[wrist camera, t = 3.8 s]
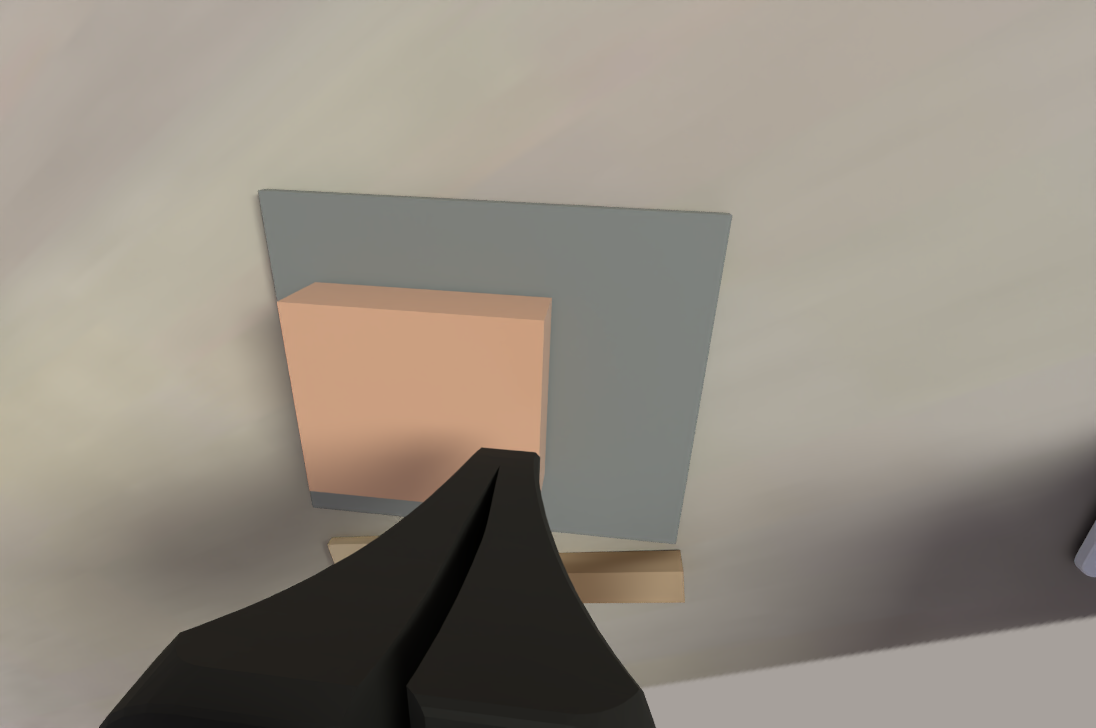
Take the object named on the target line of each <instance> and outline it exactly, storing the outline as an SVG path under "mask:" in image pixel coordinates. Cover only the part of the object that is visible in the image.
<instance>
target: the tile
mask: <svg viewBox="0 0 1096 728" xmlns="http://www.w3.org/2000/svg"><path fill="white" fill-rule="evenodd" d="M277 306H278V312H279V318H280V323H281V329H282V335H283V341H284V346H285V352H286V358H287V364H288V369H289V375H290V381H291V387H292V392H293V398H294V404H295V410H296V416H297V421H298V427H299V433H300V439H301V444H302V450H303V456H304V462H305V467H306V473H307V479H308V485H309V490H310V491H316V492H326V493H336V494H346V495H356V496H366V497H376V498H386V499H396V500H407V501H417V502H424V501H425V500H426V499H427V498H429V497H430V496H431V495H432V494H433V493H434V492H435V491H436V490H437V489H438V488H439V487H441V486H442V485H443V484H444V483H445V482H446V481H447V480H448V479H449V478H450V477H451V476H452V475H453V474H454V473H455V472H456V471H457V470H458V469H459V468H460V467H461V466H462V465H463V464H464V463H465V462H466V461H467V460H468V459H469V458H470V457H471V456H472V455H473V454H474V453H475V452H476V451H478V450H479V449H480V448H481V447H483V448H494V449H505V450H516V451H528V452H536V453H537V454H538V455H539V456H540V480H539V483H540V490H542V485H543V480H544V474H545V452H546V428H547V405H548V381H549V357H550V333H551V309H552V298H547V297H532V296H517V295H502V294H487V293H472V292H457V291H442V290H427V289H412V288H397V287H382V286H367V285H351V284H336V283H321V282H315V283H313V284H311V285H309V286H307V287H305V288H303V289H301V290H299V291H297V292H295V293H293V294H291V295H289V296H287V297H285V298H283V299H281V300H279V301H278V302H277Z"/></svg>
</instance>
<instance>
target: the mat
mask: <svg viewBox="0 0 1096 728" xmlns="http://www.w3.org/2000/svg"><path fill="white" fill-rule="evenodd" d="M258 194H259V199H260V205H261V211H262V217H263V222H264V228H265V234H266V240H267V246H268V251H269V257H270V263H271V269H272V274H273V280H274V286H275V292H276V298H277V302H278V301H279V300H281V299H283V298H285V297H287V296H289V295H291V294H293V293H295V292H297V291H299V290H301V289H303V288H305V287H307V286H309V285H311V284H313V283H315V282H321V283H336V284H351V285H367V286H382V287H397V288H412V289H427V290H442V291H457V292H472V293H487V294H502V295H517V296H532V297H547V298H552V309H551V333H550V357H549V381H548V405H547V428H546V452H545V474H544V480H543V485H542V490H541V496H542V500H543V504H544V508H545V513H546V517H547V520H548V523H549V527H550V530H551V532H561V533H571V534H581V535H590V536H600V537H610V538H620V539H630V540H640V541H650V542H659V543H669V544H676V540H677V534H678V528H679V522H680V517H681V511H682V505H683V499H684V493H685V487H686V482H687V476H688V470H689V464H690V458H691V453H692V447H693V441H694V435H695V429H696V423H697V418H698V412H699V406H700V400H701V394H702V388H703V383H704V377H705V371H706V365H707V359H708V354H709V348H710V342H711V336H712V330H713V324H714V319H715V313H716V307H717V301H718V295H719V290H720V284H721V278H722V272H723V266H724V260H725V255H726V249H727V243H728V237H729V231H730V225H731V220H732V215H731V214H730V213H717V212H698V211H679V210H660V209H640V208H621V207H602V206H583V205H564V204H545V203H525V202H506V201H487V200H468V199H449V198H430V197H411V196H391V195H372V194H353V193H334V192H315V191H296V190H277V189H263V190H258ZM310 494H311V500H312V505H313V507H314V508H324V509H334V510H344V511H354V512H364V513H373V514H383V515H393V516H403V517H406V516H407V515H408V514H409V513H410V512H412V511H413V510H414V509H415V508H417V507H418V506H419V505H420V504H422V503H423V502H417V501H407V500H396V499H386V498H376V497H366V496H356V495H346V494H336V493H326V492H316V491H310Z"/></svg>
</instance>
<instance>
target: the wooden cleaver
mask: <svg viewBox="0 0 1096 728" xmlns="http://www.w3.org/2000/svg"><path fill="white" fill-rule="evenodd" d="M378 537H379V536H364V537H339V538H332V539H331V540H330V542H329V543H328V544H327V545H328V548H329V551H330V553H331V556H332V559H333V561H334V564H335V563H337V562H339V561H341V560H342V559H344V558H346V557H348V556H349V555H351V554H353V553H355V552H356V551H358V550H359V549H361V548H363V547H364V546H366V545H367V544H369V543H370V542H372V541H373V540H375V539H376V538H378ZM559 555H560V557H561V560H562V562H563V564H564V567H565V569H566V571H567V573H568V576H569V578H570V580H571V582H572V584H573V586H574V588H575V590H576V592H577V594H578V596H579V597H580V599H581V601H582V603H674V602H685V597H684V577H683V567H682V560H681V553H680V550H673V551H627V552H580V553H559Z"/></svg>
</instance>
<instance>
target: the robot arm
mask: <svg viewBox="0 0 1096 728" xmlns="http://www.w3.org/2000/svg"><path fill="white" fill-rule="evenodd" d="M539 480H540V456H539V455H538V454H537V453H536V452H528V451H516V450H505V449H494V448H483V447H481V448H480V449H479V450H478V451H476V452H475V453H474V454H473V455H472V456H471V457H470V458H469V459H468V460H467V461H466V462H465V463H464V464H463V465H462V466H461V467H460V468H459V469H458V470H457V471H456V472H455V473H454V474H453V475H452V476H451V477H450V478H449V479H448V480H447V481H446V482H445V483H444V484H443V485H442V486H441V487H439V488H438V489H437V490H436V491H435V492H434V493H433V494H432V495H431V496H430V497H429V498H427V499H426V500H425V501H424V502H423V503H422V504H420V505H419V506H418V507H417V508H415V509H414V510H413V511H412V512H410V513H409V514H408V515H407V516H406V517H404V518H403V519H402V520H401V521H399V522H398V523H397V524H396V525H394V526H393V527H392V528H390V529H389V530H388V531H386V532H385V533H383V534H382V535H381V536H379V537H378V538H376V539H375V540H373V541H372V542H370V543H369V544H367V545H366V546H364V547H363V548H361V549H359V550H358V551H356V552H355V553H353V554H351V555H349V556H348V557H346V558H344V559H342V560H341V561H339V562H337V563H335V564H334V565H332V566H330V567H328V568H326V569H325V570H323V571H321V572H319V573H318V574H316V575H314V576H312V577H310V578H308V579H306V580H304V581H302V582H300V583H298V584H296V585H294V586H292V587H290V588H288V589H286V590H284V591H282V592H280V593H277V594H275V595H273V596H271V597H269V598H266V599H264V600H262V601H260V602H258V603H255V604H253V605H251V606H248V607H246V608H243V609H241V610H238V611H236V612H233V613H231V614H228V615H225V616H223V617H220V618H218V619H215V620H213V621H210V622H207V623H205V624H202V625H200V626H197V627H195V628H192V629H189V630H186V631H183V632H180V633H179V634H178V635H177V636H176V637H175V639H174V640H173V641H172V642H171V643H170V644H169V645H168V646H167V647H166V648H165V649H164V650H163V652H162V653H161V654H160V655H159V656H158V657H157V658H156V659H155V661H154V662H153V663H152V664H151V665H150V666H149V668H148V669H147V670H146V671H145V672H144V674H143V675H142V676H141V677H140V678H139V679H138V681H137V682H136V683H135V684H134V685H133V687H132V688H131V689H130V690H129V691H128V692H127V694H126V695H125V696H124V697H123V698H122V700H121V701H120V702H119V703H118V704H117V705H116V707H115V708H114V709H113V710H112V711H111V713H110V714H109V715H108V716H107V717H106V719H105V720H104V721H103V723H102V724H101V725H100V727H99V728H656V727H655V724H654V721H653V718H652V715H651V712H650V709H649V706H648V704H647V701H646V698H645V695H644V692H643V691H642V689H641V688H640V687H639V686H638V684H637V683H636V682H635V680H634V679H633V678H632V677H631V675H630V674H629V673H628V672H627V670H626V669H625V667H624V666H623V665H622V663H621V662H620V661H619V659H618V658H617V657H616V655H615V654H614V652H613V651H612V649H611V648H610V646H609V645H608V643H607V642H606V640H605V639H604V637H603V636H602V634H601V633H600V631H599V630H598V628H597V627H596V625H595V623H594V621H593V620H592V618H591V616H590V615H589V613H588V611H587V609H586V608H585V606H584V604H583V603H582V601H581V599H580V597H579V596H578V594H577V592H576V590H575V588H574V586H573V584H572V582H571V580H570V578H569V576H568V573H567V571H566V569H565V567H564V564H563V562H562V560H561V557H560V555H559V552H558V550H557V547H556V544H555V542H554V539H553V536H552V533H551V530H550V527H549V523H548V520H547V517H546V513H545V508H544V504H543V500H542V496H541V490H540V483H539ZM1074 563H1075V566H1076V567H1078V568H1079V569H1080V570H1081V571H1082V572H1083V573H1084V574H1085V575H1087V576H1090V577H1095V578H1096V521H1095V523H1094V524H1093V526H1092V528H1091V530H1090V531H1089V533H1088V535H1087V537H1086V538H1085V540H1084V542H1083V544H1082V546H1081V547H1080V549H1079V551H1078V553H1077V554H1076V556H1075V560H1074Z"/></svg>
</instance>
